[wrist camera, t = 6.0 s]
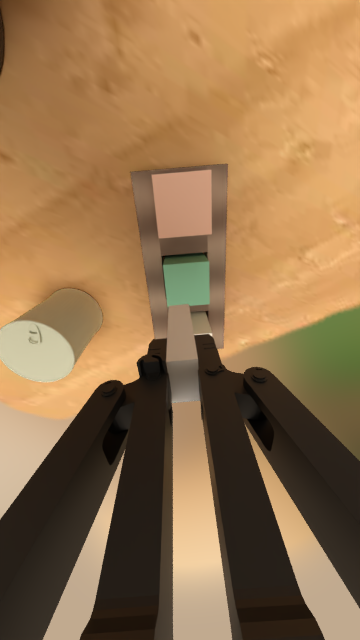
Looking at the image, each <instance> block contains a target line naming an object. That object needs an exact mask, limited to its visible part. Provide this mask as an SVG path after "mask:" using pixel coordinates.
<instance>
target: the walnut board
mask: <svg viewBox="0 0 360 640" xmlns="http://www.w3.org/2000/svg"><path fill="white" fill-rule="evenodd" d="M202 170H211V183H212V234H208V235H196V236H184V237H171V238H159V237H158V228H157V219H156V210H155V201H154V192H153V183H152V175H154V174H166V173H178V172H190V171H202ZM227 178H228V164H217V165H206V166H194V167H182V168H170V169H158V170H147V171H135V172H131V179H132V186H133V193H134V199H135V206H136V213H137V220H138V226H139V233H140V240H141V247H142V253H143V260H144V267H145V274H146V280H147V287H148V294H149V301H150V307H151V314H152V321H153V327H154V334H155V339H163V338H167V332H168V311H169V307H167V298H166V288H165V279H164V270H163V263H164V260H163V256H164V255H177V254H189V253H202V252H204V255H205V256H206V258H207V259H208V260H209V291H210V304H206V305H193V306H189V308H190V312H195V311H205V312H206V315H207V318H208V321H209V324H210V327H211V331H212V337H213V338H214V341H215V344H216V348H217V349H222V348H224V306H225V263H226V220H227Z"/></svg>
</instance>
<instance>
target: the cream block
mask: <svg viewBox="0 0 360 640" xmlns="http://www.w3.org/2000/svg"><path fill="white" fill-rule="evenodd" d="M190 314H191V320H192V326H193V332H194V335H202V334H210V335H211V336H212V331H211V327H210V324H209V321H208V318H207V315H206V312H205V311H195V312H190Z"/></svg>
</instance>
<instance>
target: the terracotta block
mask: <svg viewBox="0 0 360 640" xmlns="http://www.w3.org/2000/svg"><path fill="white" fill-rule="evenodd" d="M152 183H153V192H154V201H155V210H156V219H157V228H158V237H159V238H171V237H184V236H196V235H208V234H212V183H211V170H202V171H190V172H178V173H166V174H154V175H152Z"/></svg>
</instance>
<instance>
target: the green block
mask: <svg viewBox="0 0 360 640" xmlns="http://www.w3.org/2000/svg"><path fill="white" fill-rule="evenodd" d="M163 270H164V279H165V288H166V298H167V307H169V306H173V305H184V304H189V306H193V305H206V304H210V291H209V260H208V259H207V258H206V256H205V255H204V254H203V252H202V253H189V254H177V255H165V258H164V263H163Z"/></svg>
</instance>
